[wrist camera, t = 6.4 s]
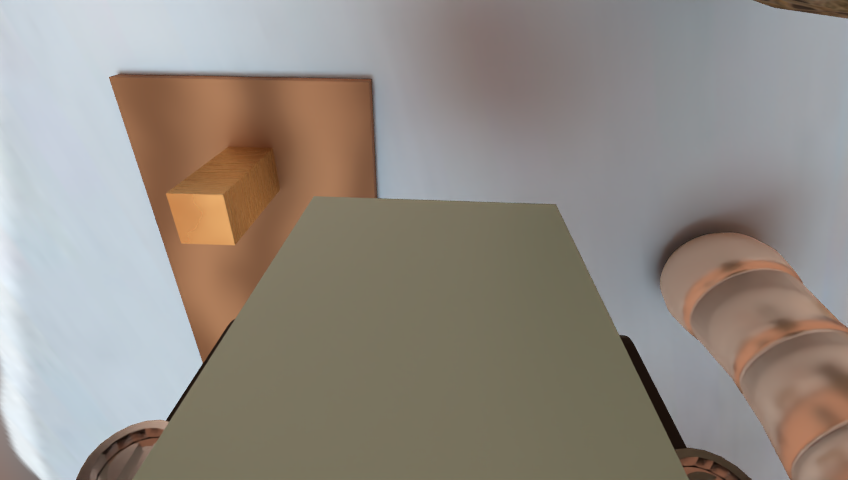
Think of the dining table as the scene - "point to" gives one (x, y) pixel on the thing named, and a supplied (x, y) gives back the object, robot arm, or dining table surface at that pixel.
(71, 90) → the dining table surface
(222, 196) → the brass post
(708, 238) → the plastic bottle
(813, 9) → the lantern
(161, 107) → the board
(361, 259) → the olive block
